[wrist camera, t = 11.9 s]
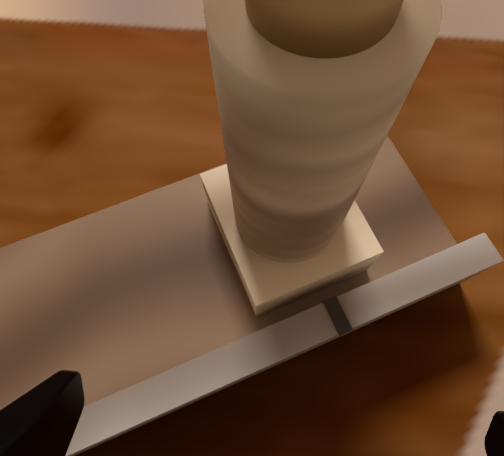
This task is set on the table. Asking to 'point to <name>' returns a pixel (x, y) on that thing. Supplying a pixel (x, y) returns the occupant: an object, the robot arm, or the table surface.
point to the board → (197, 299)
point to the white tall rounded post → (306, 131)
